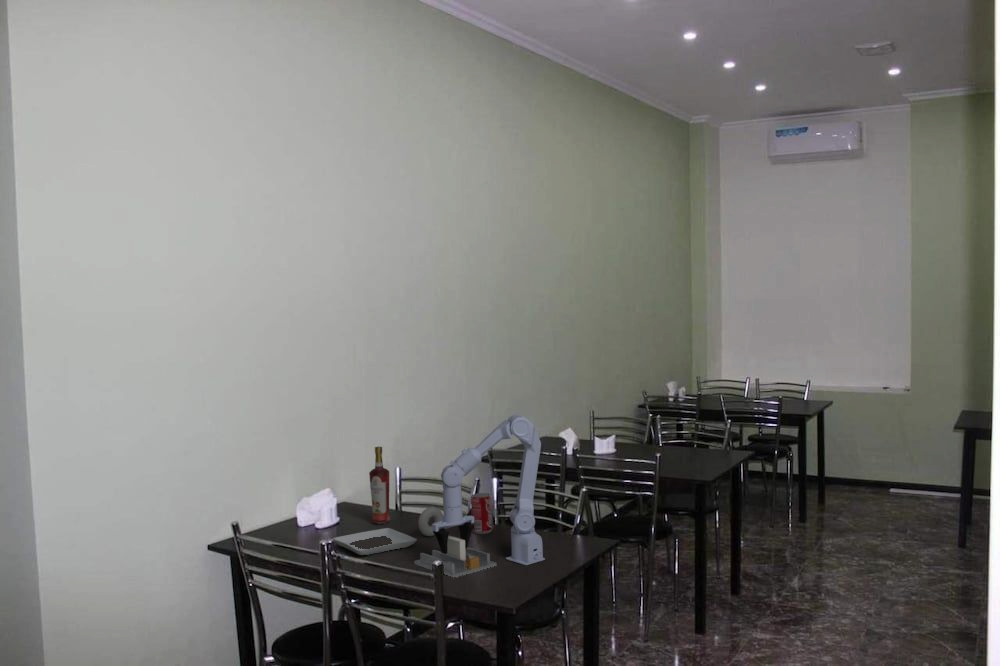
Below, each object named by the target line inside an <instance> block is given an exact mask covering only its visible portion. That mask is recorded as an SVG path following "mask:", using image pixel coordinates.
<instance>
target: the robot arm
mask: <svg viewBox="0 0 1000 666" xmlns="http://www.w3.org/2000/svg"><path fill="white" fill-rule="evenodd" d="M512 435H513V436H514V437H516V439H518V440H519V441H520V443H521V444H522V445H523V446H524V449H523V455H522V461H521V463H522V464H521V469H520V475H519V482H518V489H517V496H516V498H515V500H514V504H513V505H514V506H513V508H512V509H511V511H510V513H509V519H510V521H511V523H512V524H513V525H512V526H511V528H510V539H511V555H510V556H507V557H505V559H506V560H507V561H510V562H515V563H518V564H520V565H524V566H529V565H532V564H535V563H538V562H542V561H545V560H546V558H545V557H543V556H544V555H543V554H544V552H543V550H544V549H543V548H544V547H543V538H542V536H541V535H539V534H538V533H537V532H536V530H535V525H536V518H535V515H534V510H535V509H534V507H535V506H534V495H535V489H536V484H537V483H536V482H537V475H538V468H539V461H540V457H541V456H540V454H541V448H542V441H541V440H540V439H541V438H540V437H539V435H538V432H537V431H536V428H535V425H534V424H533V423H532V422H531V421H530V420H529V419H528V418H527V417H525V416H523V415H522V414H518V413H513V414H511V415H510V416H508V418H507V419H504V420H503V421H502V422H500V423H499V424H498V425H497V426H496V427H495V428H494V429H493V430H492V431H491V432H490V433H488V435H486V437H484V439H482V440H481V441H480V443H479V444H478V445H476V447H469V448H467V449H466V448H464V449H462V450H461V454H460V455H459V456H458V457H457V458H456V459H455V460H451V461H450V462H449V465H446V466H445V467H443V468H442V471H441V474H440V477H441V480H442V481H443V482H442V507H443V516H444V519H443V520H442V521H440V522H437V523H435V524H434V523H432V524H431V526H432V531H433V533H434V536H435V538H436V540H437V543H438V545H439V548H440V552H441V553H443V554H447V551H448V547H447V542H448V536H450V532H449V531H447V529H450V528H455V527H458V530H459V535H460V539H462V540H465V549H467V547H469V542H470V539H471V535H472V533H473V529H474V524H472V523H474V516H471V515H465V516H464V515H463V494H462V493H463V492H462V487H461V486H462V483H463V478H464V477H466V476H467V475H468V474H469V473H471V472H472V471H473V470H474V469H475V468H476V467H477V466H479V465H480V464H481V463H482V457H483V456H484V455H485V454H486V453H487V452H489V451H490V450H491V449H492V448H493V447H495V446H496V445H497V444H498V443H500V442H502V441H503V440H510V439H513V436H512Z"/></svg>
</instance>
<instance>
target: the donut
mask: <svg viewBox="0 0 1000 666" xmlns="http://www.w3.org/2000/svg"><path fill="white" fill-rule="evenodd" d="M431 518H433V524H435V523H437V522H440V521H442V520H443V519H444V513H443V512H442V511H441V510H440V509H439V507H438V508H437V507H436V506H429V507H426V508H425V509H424V510H423V511H422V512H421V513H420V515H419V518H418V521H417V522H418V523H417V524H418V525H417V526H418V529H419V531H420V533H421V534H422V535H424V536H425V537H426V536H427V537H434V536H435V535H434V533H433V531H432V525H429V521H430V519H431Z"/></svg>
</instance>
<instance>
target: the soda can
mask: <svg viewBox="0 0 1000 666" xmlns="http://www.w3.org/2000/svg"><path fill="white" fill-rule="evenodd" d="M492 507H493V506H492V498H491V496H490V493H486V492H479V493H473V494H472V495H471V498H470V510H471V511H470V512H471V515H470V516H474V523H471V524H474V529H473V531H472V533H473V534H474V535H485V534H486V535H487V534H490V533H491V532H492V531H493V510H492Z"/></svg>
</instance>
